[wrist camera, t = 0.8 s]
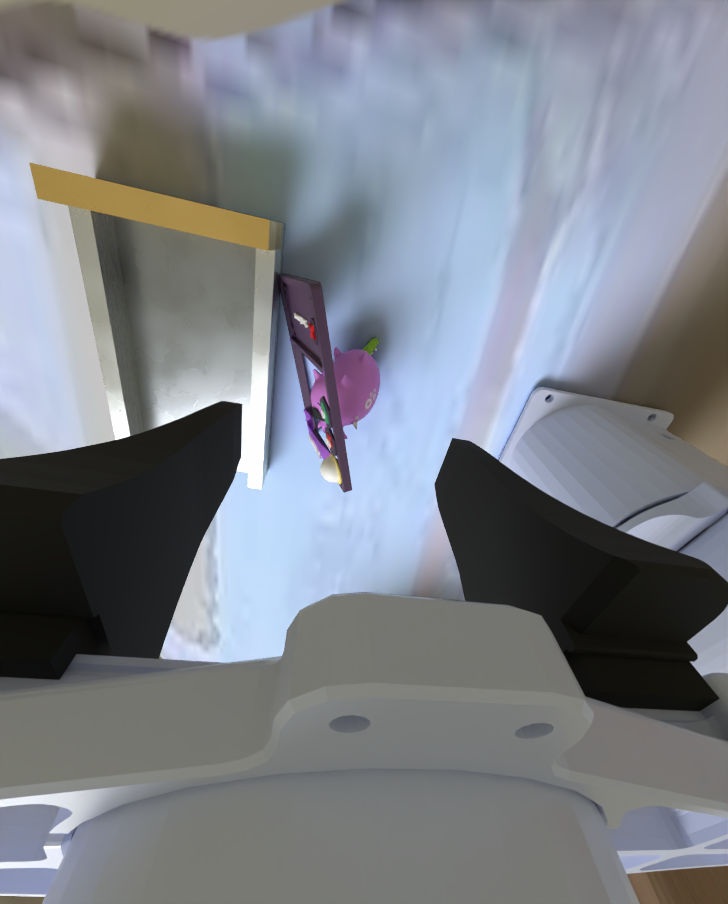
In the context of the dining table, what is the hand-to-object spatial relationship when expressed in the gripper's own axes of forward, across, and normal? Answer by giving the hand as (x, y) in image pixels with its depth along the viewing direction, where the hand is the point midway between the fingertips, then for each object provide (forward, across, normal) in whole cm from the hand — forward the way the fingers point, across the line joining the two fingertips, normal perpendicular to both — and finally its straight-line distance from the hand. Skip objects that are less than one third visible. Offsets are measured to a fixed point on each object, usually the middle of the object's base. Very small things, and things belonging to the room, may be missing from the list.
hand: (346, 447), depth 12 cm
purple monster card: (+9, +1, 0) cm, 9 cm away
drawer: (+9, +8, +1) cm, 12 cm away
